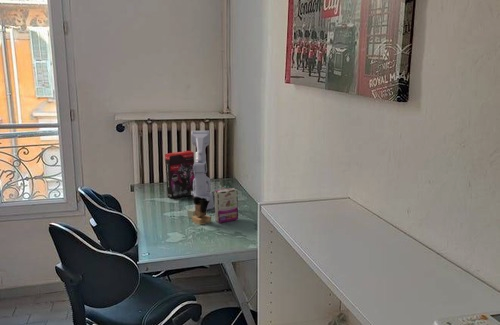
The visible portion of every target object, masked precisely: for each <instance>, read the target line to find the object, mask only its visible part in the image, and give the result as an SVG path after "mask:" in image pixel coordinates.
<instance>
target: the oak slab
mask: <svg viewBox="0 0 500 325" xmlns="http://www.w3.org/2000/svg"><path fill="white" fill-rule="evenodd" d="M191 221H192V223H195V224H197V225H198V226H200V225H205V224H209V223H212V216H210V215H207V214H206V215H204V216H201V217H199V216H197V215H196V216H192V218H191Z"/></svg>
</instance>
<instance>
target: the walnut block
mask: <svg viewBox="0 0 500 325" xmlns="http://www.w3.org/2000/svg"><path fill="white" fill-rule="evenodd" d="M194 207H195V215H197V216H199V217H201V216H204V215H207V211H206V212H205V213H202V211H201V204H200V203H199V204H195V203H194Z"/></svg>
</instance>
